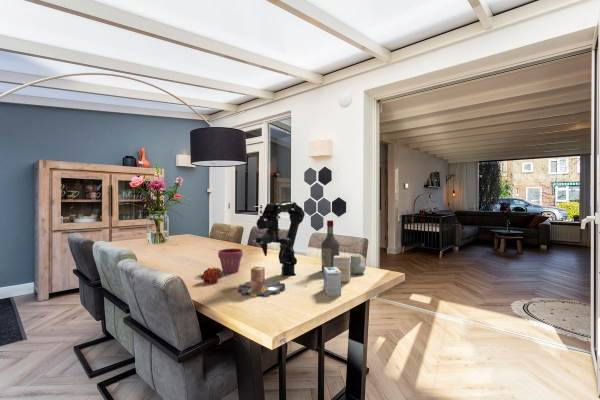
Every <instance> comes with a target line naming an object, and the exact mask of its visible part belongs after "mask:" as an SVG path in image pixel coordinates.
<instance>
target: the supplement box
mask: <svg viewBox="0 0 600 400" xmlns="http://www.w3.org/2000/svg"><path fill="white" fill-rule="evenodd" d="M333 262H334V267H337V268H338V269H339V270H340V272H341V283H350V281H351V273H350V263H351V255H339V256H336V255H335V256H334V257H333Z"/></svg>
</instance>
